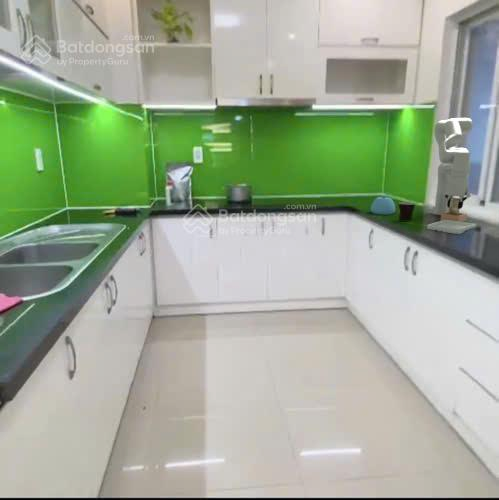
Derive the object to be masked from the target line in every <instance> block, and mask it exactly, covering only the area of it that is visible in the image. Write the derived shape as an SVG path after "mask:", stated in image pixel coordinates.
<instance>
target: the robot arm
mask: <svg viewBox="0 0 499 500" xmlns="http://www.w3.org/2000/svg"><path fill="white" fill-rule="evenodd" d="M472 129H473V121H472V119H471V118H468V117H459V118H458V117H455V118H449V119H445V120H443V119H442V120H440V121H437V122H436V123H435V125H434V137H435V141H436V143H437V145H438V146H437V147H438V156H439V157H438V159H439V162H440V164H439V165H438V167H437V184H436V185H437V186H436V195H435V202H434V206H429V207H428V210H429V211H431V214H433V215H436V216H437V215H439V216H441V214H442V213H446V212H449V207H450V200H451V198H455V197H458V198H460V202H459V204H458V209H459V210H461V209H462V208H463V206H464V202H465V201H466V200H467V199H469V198H470V197H472V194H470V191H469V177H470V176H471V159H470V157H471V152H470V151H469V150H468V149H467V148H466V147H465V148H464V147H455V146H458V145H460V143H462V142H463V140H464V135H467V134H470V133H471V131H472Z"/></svg>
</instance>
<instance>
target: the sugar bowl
mask: <svg viewBox="0 0 499 500" xmlns="http://www.w3.org/2000/svg"><path fill="white" fill-rule="evenodd" d="M370 212H372V214H374V215H382V216H383V215H384V216H387V215H388V216H389V215H393V214H394V213H395V212H396V204H395V202H394V201H393V198H391V197H387V194H381V196H379V197H376V198H375V199H374V200H373V202H372V204H371V206H370Z"/></svg>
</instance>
